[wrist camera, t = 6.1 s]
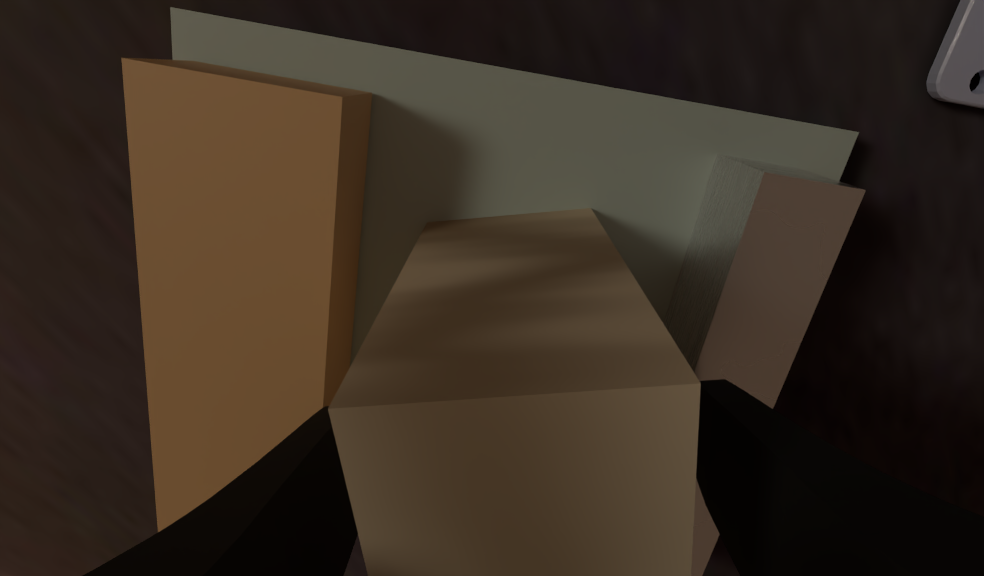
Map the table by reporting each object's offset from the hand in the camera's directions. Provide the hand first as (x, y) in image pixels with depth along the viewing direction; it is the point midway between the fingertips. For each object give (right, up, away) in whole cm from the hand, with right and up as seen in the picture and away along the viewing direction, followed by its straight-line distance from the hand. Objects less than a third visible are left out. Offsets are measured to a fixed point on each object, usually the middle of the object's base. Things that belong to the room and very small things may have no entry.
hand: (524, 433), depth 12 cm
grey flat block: (-1, +2, +4) cm, 5 cm away
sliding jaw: (-6, +2, +3) cm, 7 cm away
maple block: (0, +2, +3) cm, 3 cm away
